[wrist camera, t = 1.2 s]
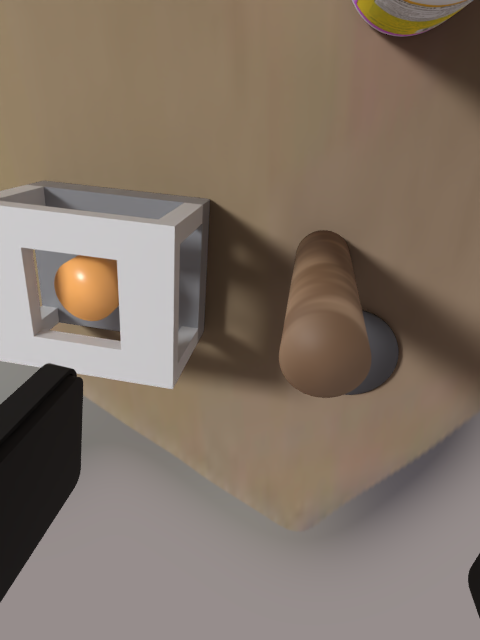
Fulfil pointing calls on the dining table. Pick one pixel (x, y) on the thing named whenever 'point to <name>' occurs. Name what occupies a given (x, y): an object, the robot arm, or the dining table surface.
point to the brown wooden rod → (324, 321)
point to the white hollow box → (133, 278)
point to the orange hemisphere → (88, 287)
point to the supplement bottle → (407, 14)
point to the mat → (378, 353)
